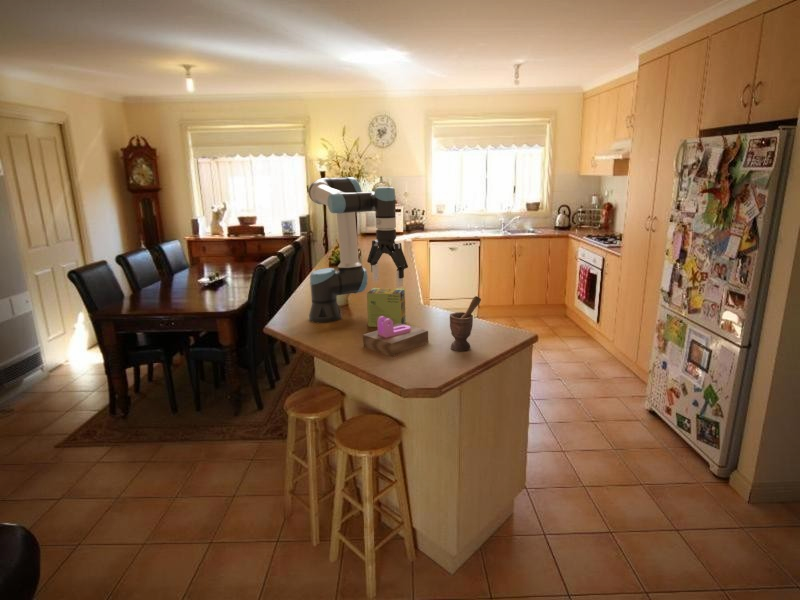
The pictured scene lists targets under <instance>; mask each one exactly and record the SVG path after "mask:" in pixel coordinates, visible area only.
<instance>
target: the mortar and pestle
mask: <svg viewBox="0 0 800 600" xmlns="http://www.w3.org/2000/svg"><path fill="white" fill-rule="evenodd" d="M481 300H482V298H481V297H479V296H477V295H475V296H473V298H472V300H471V301H470V303H469V306H468V308H467V310H466V311H465V312H463V311H460V312H459V311H457V312H453V313H450V314H449V328H450V329H449V330H450V332H451V336H452V337H453V339H454V341H453V342H451V344H450V349H451V350H454V351H457V352H464V351H468V350H470V349H471V345H470V342H468V338H469V337H470V336H471V334H472V330H473V321H474V316H473V314H472V313H474V311H475V309H476V308H477V307H478V306H479V305H480V303H481Z"/></svg>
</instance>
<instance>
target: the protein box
mask: <svg viewBox="0 0 800 600" xmlns="http://www.w3.org/2000/svg"><path fill="white" fill-rule="evenodd" d="M366 304H367V305H366V307H367V326H368V327H371V328H372V327H373V328H378V327H377V320H378V318H379V317H380V316H384V317H386V318H388V319H391V320H392V321H393V325H395V324H398V323H401V324H405V323H406V321H407V319H406V316H407V315H406V288H401V287H397V288H396V287H395V288H394V287H372V288H371V290H369V291H368V292H366ZM382 322H383V320H382ZM388 324H389V323H388Z"/></svg>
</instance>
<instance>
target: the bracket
mask: <svg viewBox="0 0 800 600" xmlns="http://www.w3.org/2000/svg"><path fill="white" fill-rule="evenodd" d="M382 320H383V322H382ZM388 323H389V324H388ZM407 325H408V324H405V325H401V326H396V327H393V321H392V320H391V319H388V318H386V317H384V316H380V317H379V318H378V320H377V327H376V328H377V330H378V335H381V336H383V337H385V338H387V337H391V336H395V335H399V334H403V333H407V332H410V331H411V329H410V326H411V325H409V326H407Z"/></svg>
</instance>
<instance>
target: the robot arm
mask: <svg viewBox="0 0 800 600" xmlns="http://www.w3.org/2000/svg"><path fill="white" fill-rule="evenodd" d="M308 196H309V198H310V200H311V201H312V202H313V203H315V204H318V205H325V206H327V208H328V210H329V212H330V214H336V222H337V234H338V246H339V258H340V260H339V261H340V262H339V264H338V265H337V270H335V268H333V267H328V268H326V267H325V268H320V269H317V270H313V271H312V272H311V273H310V275H309V286H310V296H311V297H310V298H311V307H310V310H309V314H308V319H310V320H309V321H310V322H312V321H313V322H312V323H317V322H319V323H321V324H324V323H325V324H326V323H333V322H337V321H339V320H341V319H342V311H341V309H340V307H339V304H338V300H337V296H343V295H349V294H357V293H362V292H364V291H365V290H366V288H367V285H368V273H367V272H368V271H367V269H366V268H365V267H363V264H362V263H361V262H360V260H359V248H358V234H357V233H358V232H357V222H356V221H357V219H356V213H369V212H374V213H375V228H376V230H375V236H376V237H375V238H376V239H375V240H371V247H370V250H369V254H368V257H367V260H366V262H367V264H368V263H369V264H370V267H371V268H370V269H371V270H370V271H371V273H372V274H371V276H372V278H371V279H372V282H379V280H380V276H379V273H380V272H379V264H378V263H379V261H380V259H381V257H382V256H383V254H385V255H388V256H389V257H390V258H391V259H392V261H393V263H394V265H395V267H396V268H397V269H396V270H395V273H396V280H395V281H396V287H397V288H401V287H404V277H405V272H404V271H405V270H406V269H408V268H409V265H408V262H407V260H406V257H405V254H404V251H403V249H402V248H403V247H402V242H395V241H396V239H397V230H396V227H397V221H396V220H397V217H396V215H397V214H396V197H397V196H396V189H395V188H394V187H393V186H378V187H375V189H374V190H369V191H362V188H361V185H360V183H359V181H358V180H357V179H356V178H355V177H350V176H342V177H341V176H339V177H322V178H318V179H316V180H314V181H313V182H312V183H310V185H309V187H308Z"/></svg>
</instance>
